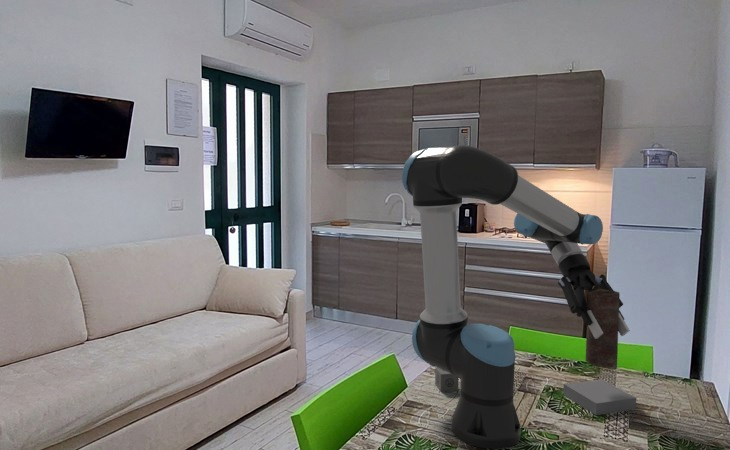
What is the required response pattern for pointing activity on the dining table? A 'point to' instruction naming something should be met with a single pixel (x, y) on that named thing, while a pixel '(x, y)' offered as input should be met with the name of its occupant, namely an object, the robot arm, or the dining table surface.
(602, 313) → the candle
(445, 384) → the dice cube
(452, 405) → the dining table surface
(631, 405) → the stand
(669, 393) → the dining table surface
